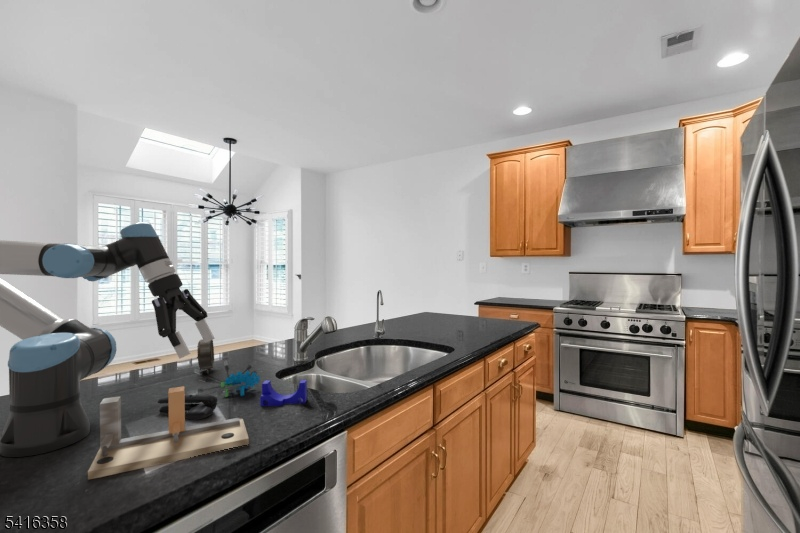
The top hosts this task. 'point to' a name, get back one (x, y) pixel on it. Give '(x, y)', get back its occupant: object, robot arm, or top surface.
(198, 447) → the plate
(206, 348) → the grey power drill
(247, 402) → the top surface
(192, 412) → the can opener
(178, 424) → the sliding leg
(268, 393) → the cable clip
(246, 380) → the gear
